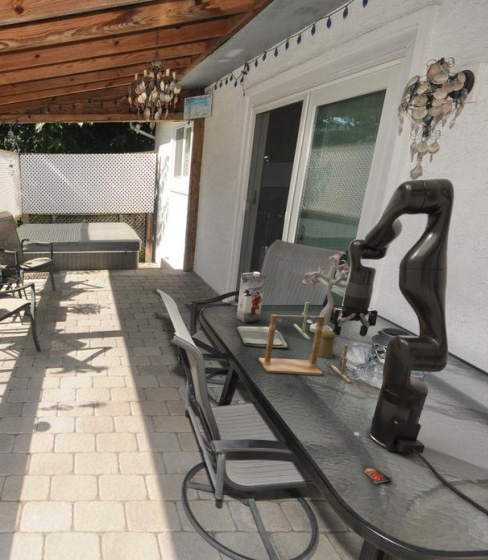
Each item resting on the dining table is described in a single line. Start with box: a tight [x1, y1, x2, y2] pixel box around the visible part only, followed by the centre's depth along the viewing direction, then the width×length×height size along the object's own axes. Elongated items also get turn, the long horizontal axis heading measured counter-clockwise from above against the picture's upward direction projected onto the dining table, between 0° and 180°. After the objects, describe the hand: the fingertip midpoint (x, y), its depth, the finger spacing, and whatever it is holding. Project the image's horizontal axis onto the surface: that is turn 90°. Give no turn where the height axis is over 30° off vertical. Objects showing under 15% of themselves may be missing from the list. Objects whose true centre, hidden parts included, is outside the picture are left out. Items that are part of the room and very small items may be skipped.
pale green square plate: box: [236, 326, 289, 350], centre depth 166 cm, size 19×18×3 cm
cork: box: [317, 330, 337, 359], centre depth 149 cm, size 6×6×11 cm
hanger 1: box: [293, 301, 311, 341], centre depth 135 cm, size 12×1×13 cm, turn 172°
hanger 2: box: [330, 343, 352, 384], centre depth 134 cm, size 12×1×13 cm, turn 172°
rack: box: [258, 313, 325, 376], centre depth 139 cm, size 10×20×23 cm, turn 82°
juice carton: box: [236, 271, 267, 324], centre depth 184 cm, size 9×10×27 cm
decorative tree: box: [301, 251, 351, 334], centre depth 168 cm, size 28×24×40 cm
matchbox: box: [363, 467, 392, 485], centre depth 91 cm, size 5×5×1 cm
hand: (349, 335), depth 131 cm, fingers open, 8 cm apart
